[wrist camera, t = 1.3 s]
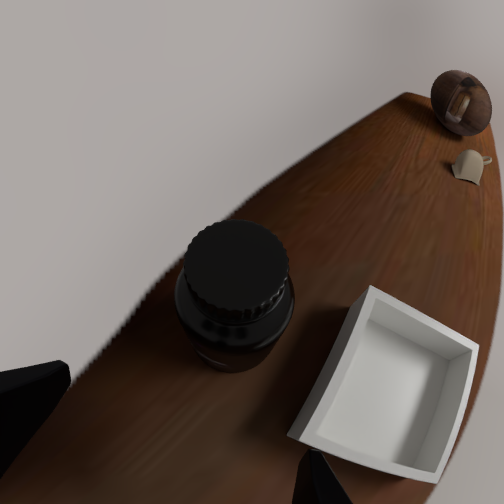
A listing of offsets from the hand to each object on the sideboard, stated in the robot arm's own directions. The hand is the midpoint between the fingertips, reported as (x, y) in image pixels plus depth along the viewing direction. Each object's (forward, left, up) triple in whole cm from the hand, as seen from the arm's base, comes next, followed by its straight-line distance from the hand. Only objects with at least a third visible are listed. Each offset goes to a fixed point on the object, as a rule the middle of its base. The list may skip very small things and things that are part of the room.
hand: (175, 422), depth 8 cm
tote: (+8, -12, -13) cm, 19 cm away
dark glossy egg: (+67, -17, -13) cm, 70 cm away
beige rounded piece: (+49, -20, -13) cm, 54 cm away
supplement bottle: (+7, +2, -13) cm, 15 cm away
